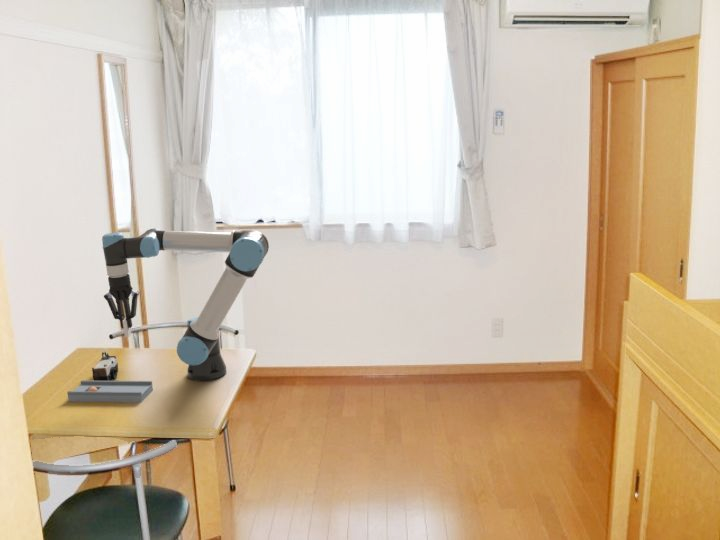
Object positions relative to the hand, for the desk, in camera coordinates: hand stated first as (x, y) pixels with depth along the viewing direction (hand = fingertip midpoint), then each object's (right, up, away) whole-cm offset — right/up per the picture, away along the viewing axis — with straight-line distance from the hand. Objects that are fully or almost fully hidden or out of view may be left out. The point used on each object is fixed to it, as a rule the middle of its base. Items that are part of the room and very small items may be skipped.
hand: (128, 335), depth 281 cm
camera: (-13, -18, +18) cm, 29 cm away
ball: (-13, -21, 0) cm, 25 cm away
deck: (-6, -22, 0) cm, 23 cm away
